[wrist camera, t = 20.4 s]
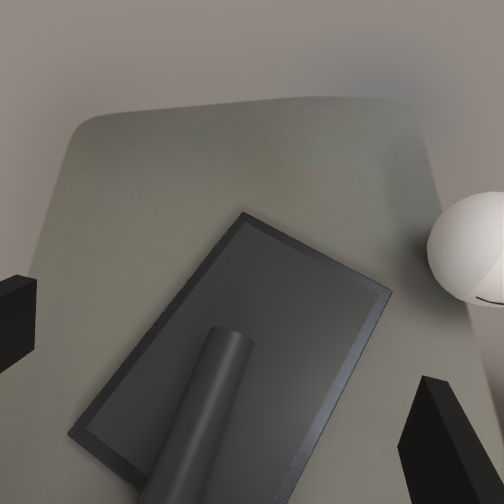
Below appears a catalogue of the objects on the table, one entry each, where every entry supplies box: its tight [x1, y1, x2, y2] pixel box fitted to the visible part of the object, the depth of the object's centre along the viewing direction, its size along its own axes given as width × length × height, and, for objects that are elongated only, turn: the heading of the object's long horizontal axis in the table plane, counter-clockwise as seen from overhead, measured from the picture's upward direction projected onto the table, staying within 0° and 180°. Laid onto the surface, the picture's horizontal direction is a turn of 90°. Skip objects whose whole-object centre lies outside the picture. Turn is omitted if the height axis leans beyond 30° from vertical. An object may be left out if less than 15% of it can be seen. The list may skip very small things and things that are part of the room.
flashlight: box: [138, 326, 255, 504], centre depth 21 cm, size 3×3×12 cm
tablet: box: [68, 212, 392, 504], centre depth 25 cm, size 12×18×1 cm, turn 148°
